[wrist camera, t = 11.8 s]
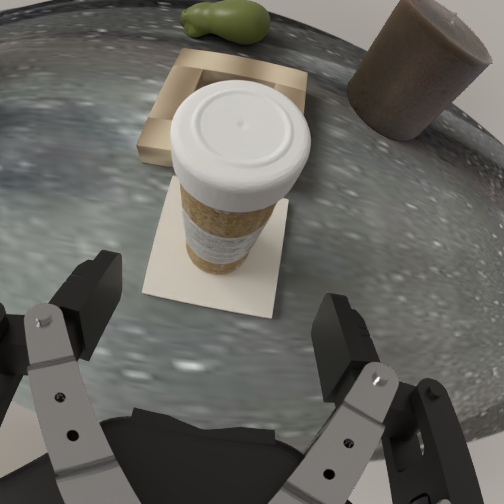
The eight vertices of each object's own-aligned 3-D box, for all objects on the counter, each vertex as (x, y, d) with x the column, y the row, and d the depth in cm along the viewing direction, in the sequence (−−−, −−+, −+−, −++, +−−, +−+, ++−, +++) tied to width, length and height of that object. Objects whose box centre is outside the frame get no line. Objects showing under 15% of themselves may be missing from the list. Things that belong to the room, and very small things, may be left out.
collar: (141, 162, 23) (136, 145, 21) (182, 66, 27) (182, 48, 24) (288, 191, 24) (297, 176, 22) (300, 89, 28) (307, 72, 25)
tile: (143, 293, 21) (141, 292, 20) (173, 179, 23) (172, 175, 23) (269, 318, 22) (271, 318, 21) (286, 202, 24) (288, 199, 24)
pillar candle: (335, 107, 28) (406, -7, 14) (357, 64, 31) (413, -27, 16) (414, 158, 28) (508, 74, 14) (423, 107, 31) (493, 32, 17)
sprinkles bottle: (213, 202, 23) (234, 58, 10) (262, 241, 22) (339, 126, 10) (171, 248, 21) (138, 129, 8) (222, 290, 21) (257, 220, 8)
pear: (262, 17, 23) (168, 11, 24) (261, 56, 28) (176, 47, 29) (276, -4, 25) (191, -9, 25) (274, 32, 30) (196, 24, 31)
